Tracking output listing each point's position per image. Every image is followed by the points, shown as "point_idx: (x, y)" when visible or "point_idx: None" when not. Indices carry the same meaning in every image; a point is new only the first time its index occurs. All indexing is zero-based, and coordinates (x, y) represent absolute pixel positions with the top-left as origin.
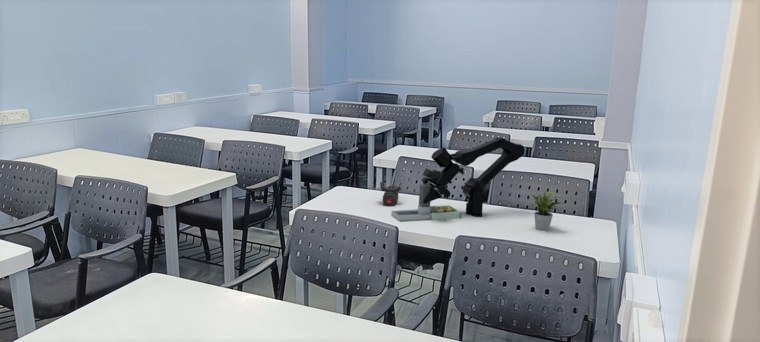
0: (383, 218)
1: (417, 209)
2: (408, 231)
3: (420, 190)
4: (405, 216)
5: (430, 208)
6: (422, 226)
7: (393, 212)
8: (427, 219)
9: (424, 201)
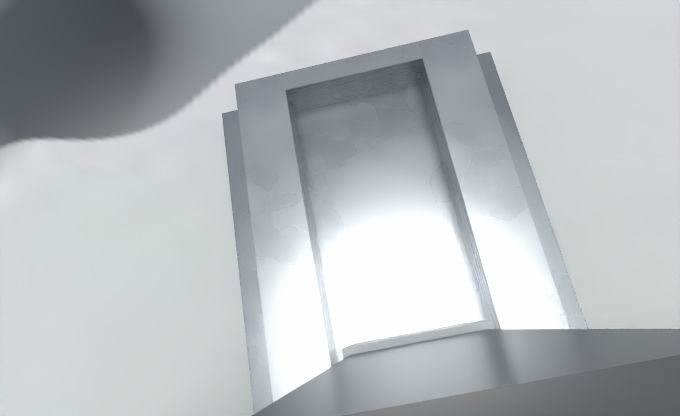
0: (389, 5)
1: None
2: (4, 159)
3: (537, 342)
4: (242, 143)
5: None
6: (106, 303)
7: (405, 45)
8: None
9: None
